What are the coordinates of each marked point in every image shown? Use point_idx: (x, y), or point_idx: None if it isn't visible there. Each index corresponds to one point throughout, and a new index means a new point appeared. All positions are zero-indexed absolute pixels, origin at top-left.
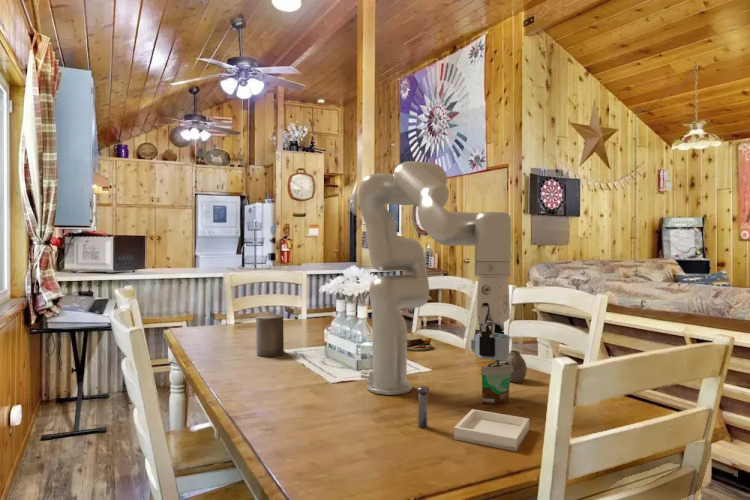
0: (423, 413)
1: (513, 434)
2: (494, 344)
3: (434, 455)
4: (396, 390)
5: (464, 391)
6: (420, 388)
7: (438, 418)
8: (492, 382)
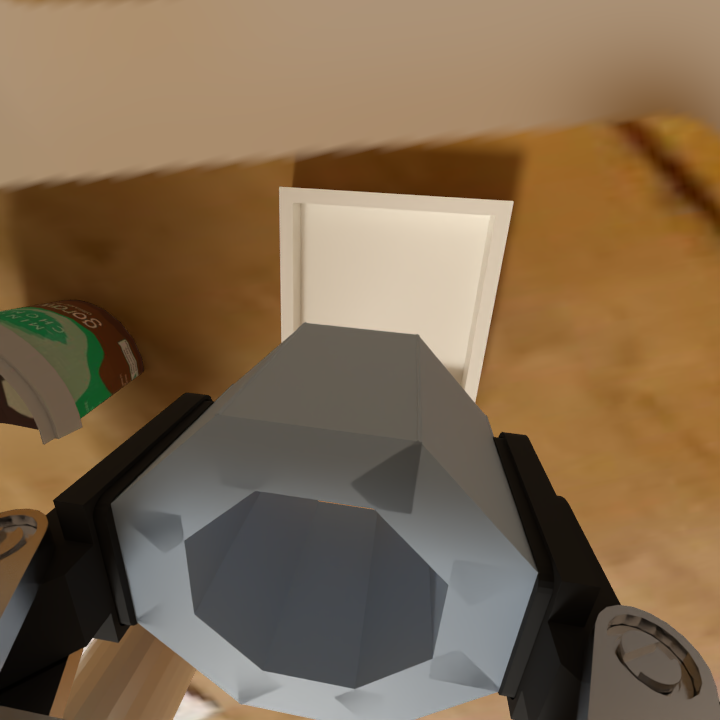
0: None
1: (390, 230)
2: (563, 514)
3: (601, 420)
4: None
5: (69, 437)
6: None
7: None
8: (79, 371)
